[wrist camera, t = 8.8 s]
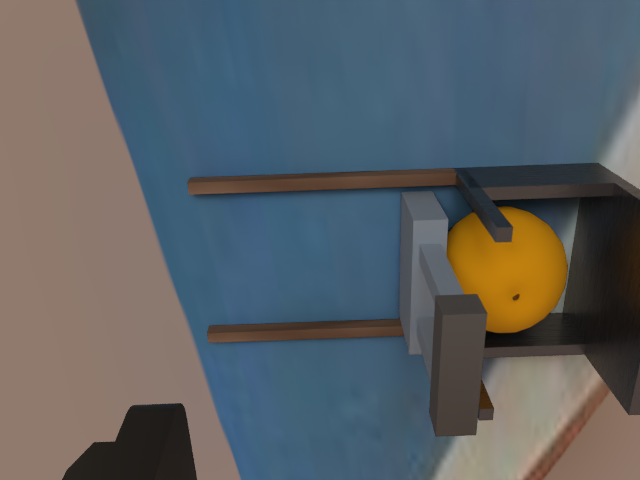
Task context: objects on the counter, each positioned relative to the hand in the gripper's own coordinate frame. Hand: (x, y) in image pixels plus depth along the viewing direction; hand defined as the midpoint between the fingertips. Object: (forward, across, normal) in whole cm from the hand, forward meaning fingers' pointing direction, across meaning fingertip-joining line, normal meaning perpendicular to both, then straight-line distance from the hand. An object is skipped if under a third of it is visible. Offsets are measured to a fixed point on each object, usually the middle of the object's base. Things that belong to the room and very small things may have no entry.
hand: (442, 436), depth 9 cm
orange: (+30, -10, +11) cm, 33 cm away
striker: (+29, -5, +11) cm, 32 cm away
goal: (+29, -12, +11) cm, 34 cm away
